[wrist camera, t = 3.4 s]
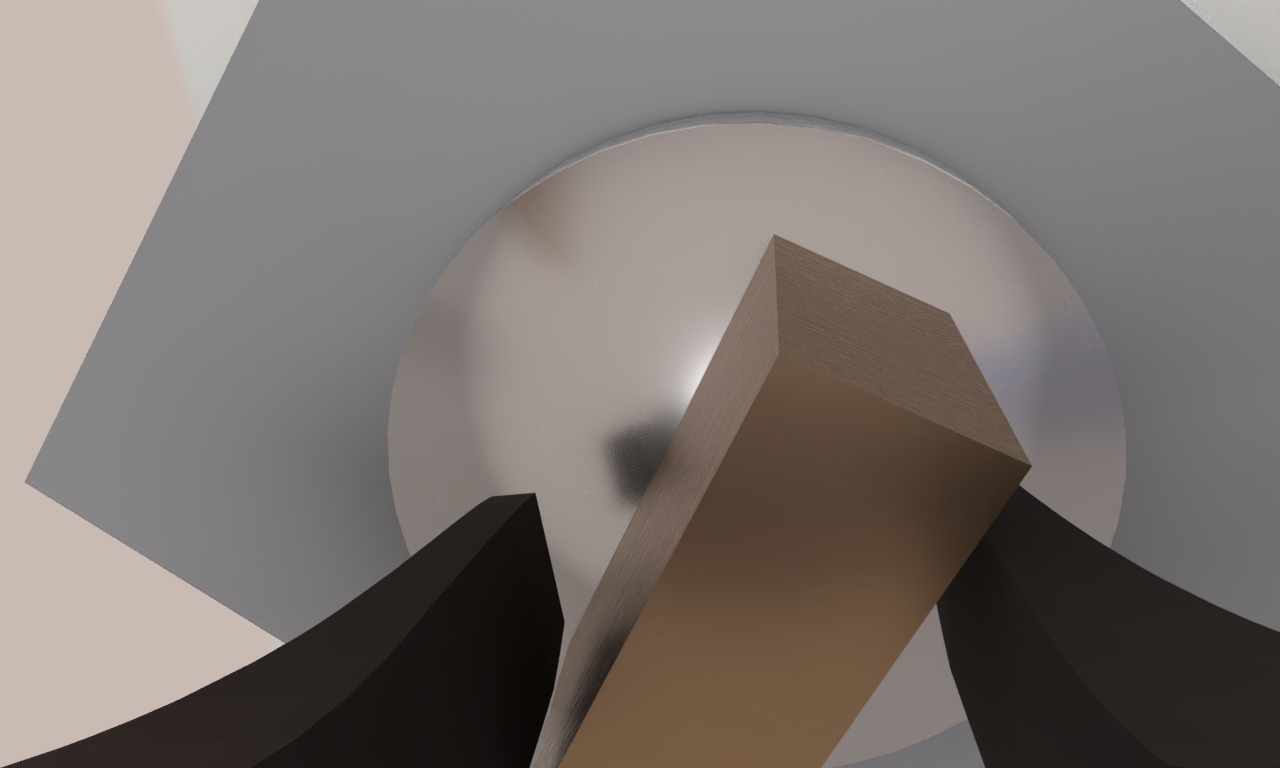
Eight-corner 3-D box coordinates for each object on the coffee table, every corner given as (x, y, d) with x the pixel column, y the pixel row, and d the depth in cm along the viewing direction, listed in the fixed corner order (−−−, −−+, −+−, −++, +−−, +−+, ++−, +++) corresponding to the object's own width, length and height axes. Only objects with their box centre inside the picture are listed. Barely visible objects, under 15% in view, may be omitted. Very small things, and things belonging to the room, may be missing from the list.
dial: (1260, 308, 12) (1548, 505, 8) (880, 809, 17) (925, 1130, 12) (547, -22, 12) (413, -14, 7) (335, 581, 16) (165, 827, 11)
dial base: (1572, 370, 14) (1673, 421, 13) (848, 925, 20) (854, 1004, 19) (559, -497, 11) (528, -569, 10) (81, 442, 18) (16, 487, 16)
